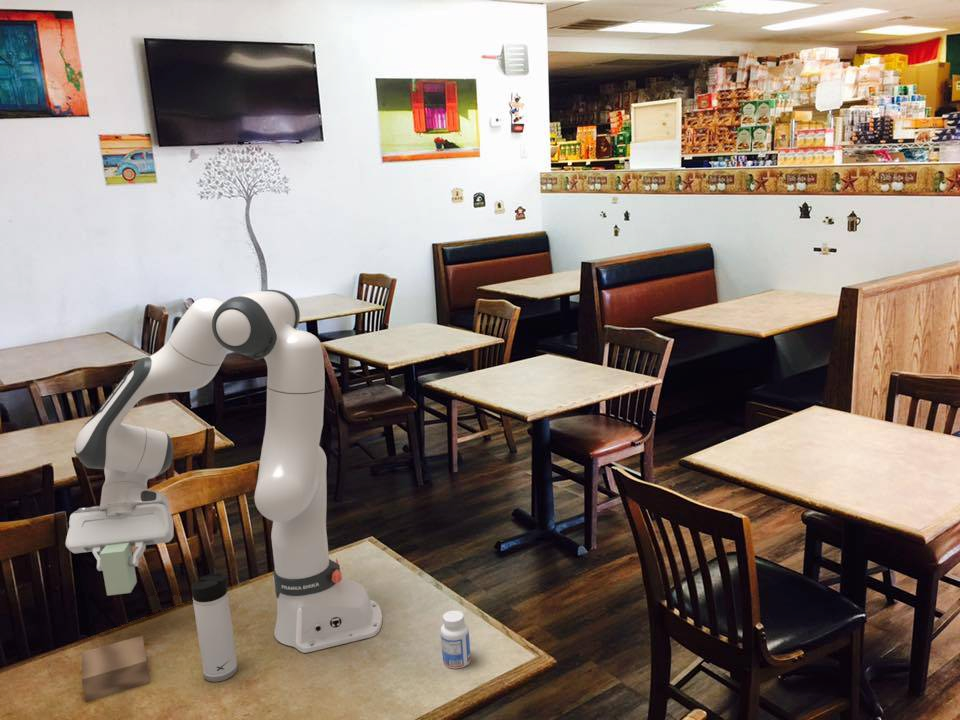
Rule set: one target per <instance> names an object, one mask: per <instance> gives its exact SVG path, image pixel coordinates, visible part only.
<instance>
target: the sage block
mask: <svg viewBox="0 0 960 720" xmlns="http://www.w3.org/2000/svg"><path fill="white" fill-rule="evenodd" d="M129 556H133V550H132V547H131V544H130V542H127V543H118V544H110V545H106V546H105V547H104V549H103V550H102V552H101V553H100V558H101V564H102V570H103V571H102V575H103V579H104V586H105V591H106V596H117V595H123V594H131V593H132V591H133V590H134V587H135V586H136V584H137V582H138V580H137V574H136V567H130V566H129V565H128V561H129V560H128V559H129Z"/></svg>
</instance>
